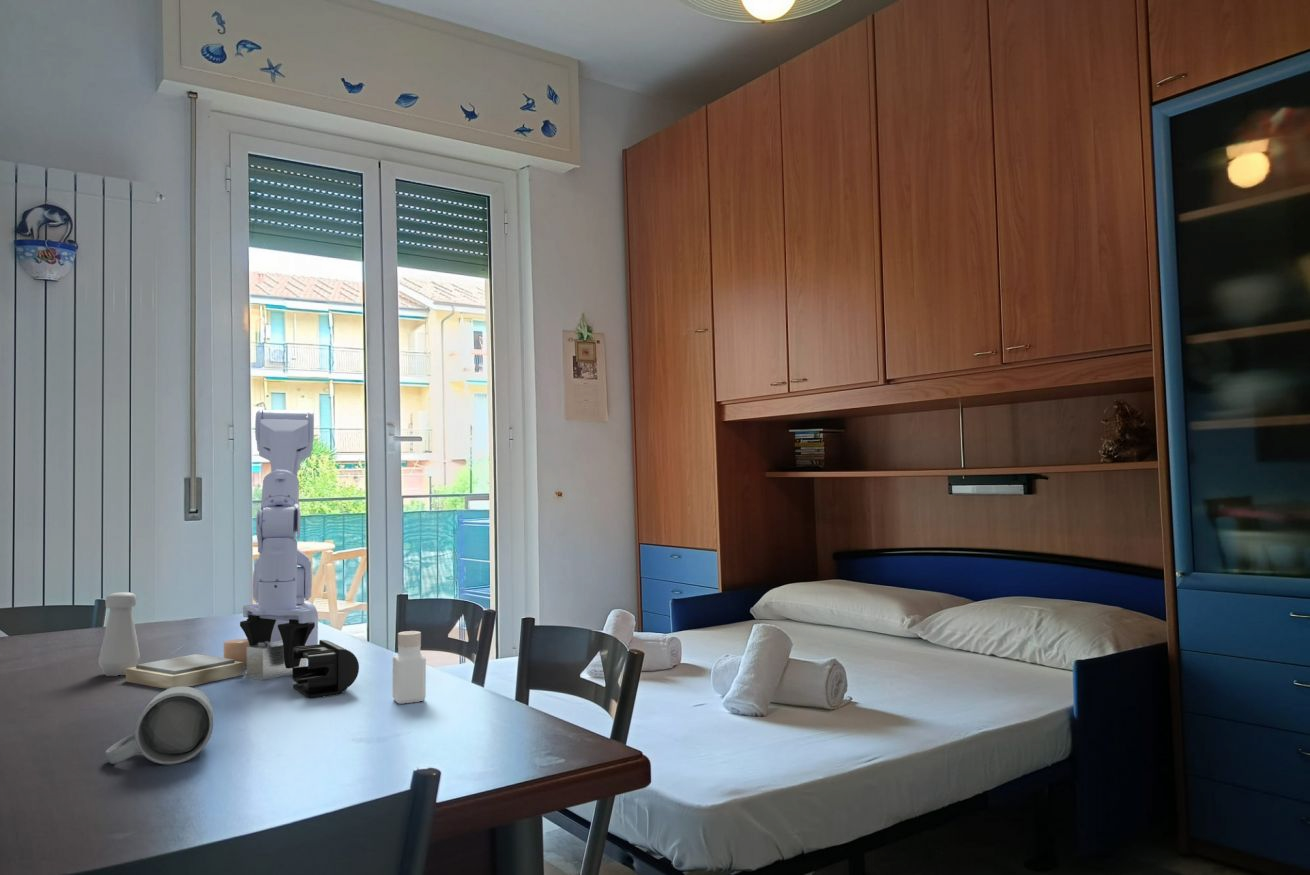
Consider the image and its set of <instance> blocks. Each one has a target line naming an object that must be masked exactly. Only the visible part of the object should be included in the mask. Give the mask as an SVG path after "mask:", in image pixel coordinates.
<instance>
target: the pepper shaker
mask: <svg viewBox="0 0 1310 875" xmlns="http://www.w3.org/2000/svg"><path fill="white" fill-rule="evenodd" d="M421 646H422V631H418V630H409V631H408V630H407V631H405V630H404V631H400V632H398V633H397V648H398V649H397V651H398V652H397V653H398V654H397V655H394V656H393V657H392V698H393V700H394V701H395V702H396V703H397V704H399V705H405V703H406V704H411V703H412V704H414V703H413V702H415V703H421V702H420V701H422V702H423V700H424V701H425V699H426V698H427V697H426V688H427V687H426V684H427V682H426V681H427V679H426V678H427V676H426V674H427V673H426V672H427V671H426V670H427V669H426V668H427V663H426V662H427V659H426V657H425V655H424V654H423V653H421Z"/></svg>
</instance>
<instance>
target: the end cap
mask: <svg viewBox="0 0 1310 875" xmlns="http://www.w3.org/2000/svg"><path fill="white" fill-rule="evenodd" d="M302 658H306V659H307V665H306V666H303V667H295V668H292V674H291V675H292V676H291V677H292V681H293V682H294V683H293V684H292V688H293V690H294V691H296V692H297V693H299V694H300V695H302V696H303V697H305V698H306V699H308V700H312V699H319V698H320V699H321V698H328V697H335V696H339V695H341V694H342V693H344V692H345V691H346V690H347V689H348V688H350V687H351V686H352V685H353V684H354V682H355V681H356V680H357V679H358V678H357V677H358V675H359V672H360V663H359V660H358V658H357V656H356V655H355V654H354V652H352V651H350V650H349V649H346V648H345V647H342V646H340V645H338V644H336V643H334V642H332V641H329V640H328V639H327V640H325V639H319V640H318V645H309V646H299V647H295V648H293V660H294V659H302Z"/></svg>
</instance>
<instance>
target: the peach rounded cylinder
mask: <svg viewBox="0 0 1310 875" xmlns="http://www.w3.org/2000/svg"><path fill="white" fill-rule="evenodd" d="M247 646H250V645H249V642H248V639H247V638H239V639H238V638H236V639H230V640H226V641H223V656H222V658H227V659H234V660H235V661H239V662H244V668H247Z"/></svg>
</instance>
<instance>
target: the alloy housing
mask: <svg viewBox="0 0 1310 875" xmlns="http://www.w3.org/2000/svg"><path fill="white" fill-rule="evenodd" d="M305 646H306V644H305ZM306 659H307V658H302V659H301V660H300V664H299V667H303V666H307V664H306ZM294 668H295V667H294ZM289 675H292V668H289V669H288V668H286V667H285V662H284V647H283V641H282V640H280V641H275V642H268V641H263V642H258V645H252V646H247V667H246V676H245V677H246V678H247V679H255V680H259V681H265V680H270V679H275V678H279V677H284V676H289Z"/></svg>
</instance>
